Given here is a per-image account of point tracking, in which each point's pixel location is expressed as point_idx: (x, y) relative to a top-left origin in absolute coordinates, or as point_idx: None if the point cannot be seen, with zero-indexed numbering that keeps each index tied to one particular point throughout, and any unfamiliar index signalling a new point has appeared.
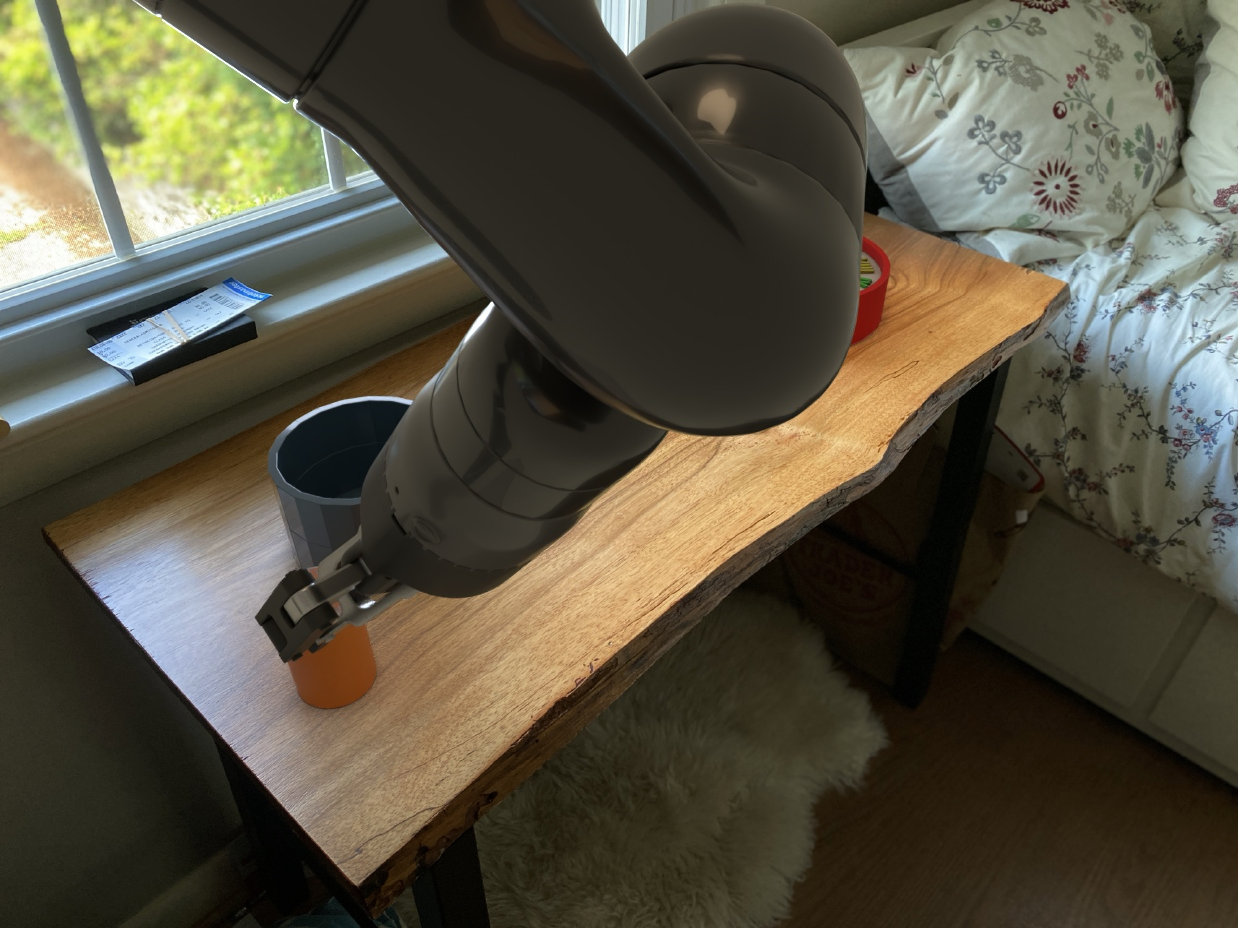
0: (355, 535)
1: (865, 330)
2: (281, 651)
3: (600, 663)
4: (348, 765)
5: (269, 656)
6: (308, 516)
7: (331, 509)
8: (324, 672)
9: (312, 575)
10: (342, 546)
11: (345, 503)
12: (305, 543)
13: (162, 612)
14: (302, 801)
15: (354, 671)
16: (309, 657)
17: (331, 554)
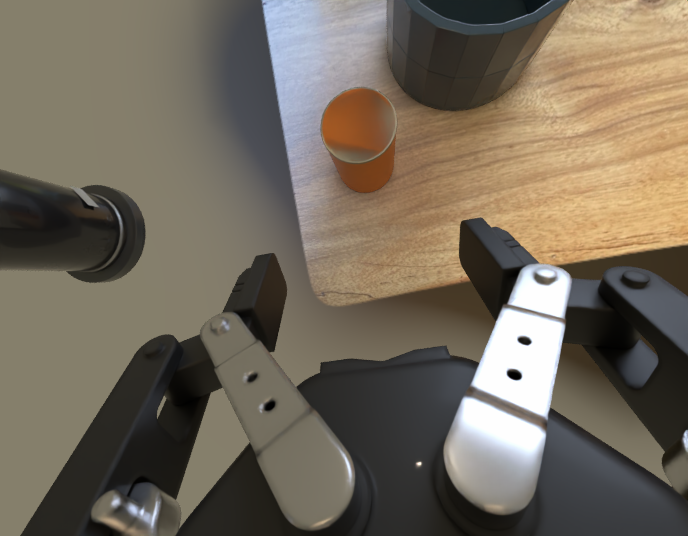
0: (253, 443)
1: None
2: (163, 407)
3: None
4: (342, 237)
5: None
6: (399, 14)
7: (419, 21)
8: (349, 178)
9: (119, 514)
10: (236, 413)
11: (434, 21)
12: (391, 35)
13: (290, 39)
14: (309, 243)
15: (370, 183)
16: (340, 168)
17: (225, 390)
